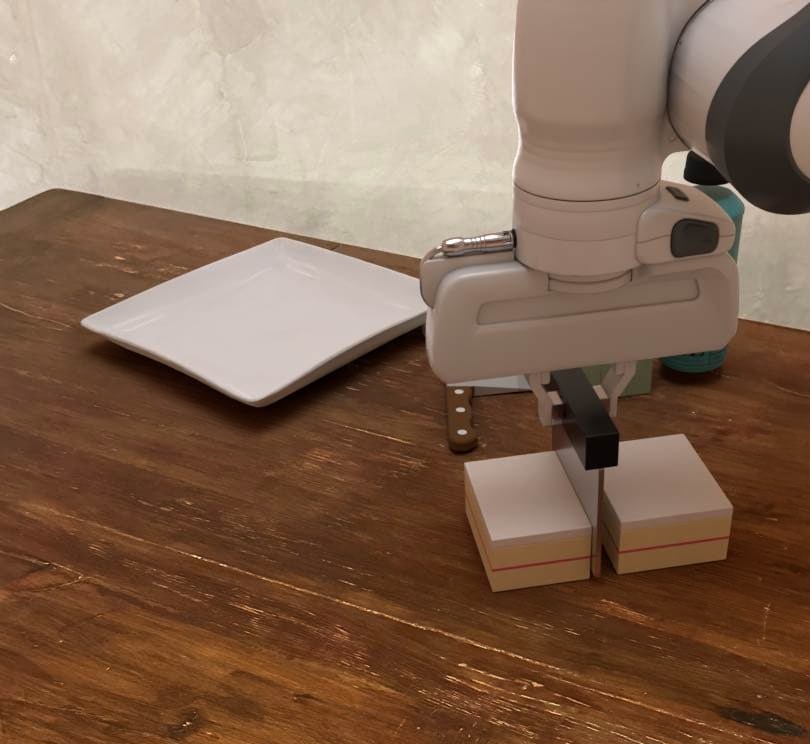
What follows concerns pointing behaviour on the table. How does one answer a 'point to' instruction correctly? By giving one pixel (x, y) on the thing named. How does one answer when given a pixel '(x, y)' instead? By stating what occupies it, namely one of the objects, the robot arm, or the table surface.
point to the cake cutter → (585, 447)
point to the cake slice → (527, 521)
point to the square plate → (266, 318)
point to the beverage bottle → (708, 183)
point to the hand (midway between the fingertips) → (577, 417)
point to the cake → (662, 507)
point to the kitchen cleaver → (461, 411)
